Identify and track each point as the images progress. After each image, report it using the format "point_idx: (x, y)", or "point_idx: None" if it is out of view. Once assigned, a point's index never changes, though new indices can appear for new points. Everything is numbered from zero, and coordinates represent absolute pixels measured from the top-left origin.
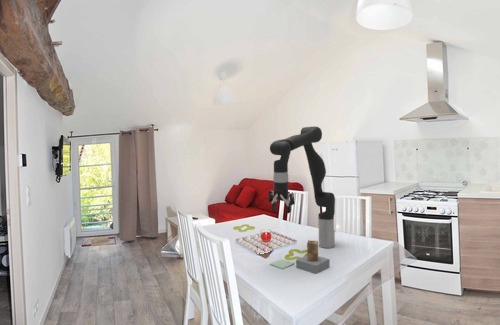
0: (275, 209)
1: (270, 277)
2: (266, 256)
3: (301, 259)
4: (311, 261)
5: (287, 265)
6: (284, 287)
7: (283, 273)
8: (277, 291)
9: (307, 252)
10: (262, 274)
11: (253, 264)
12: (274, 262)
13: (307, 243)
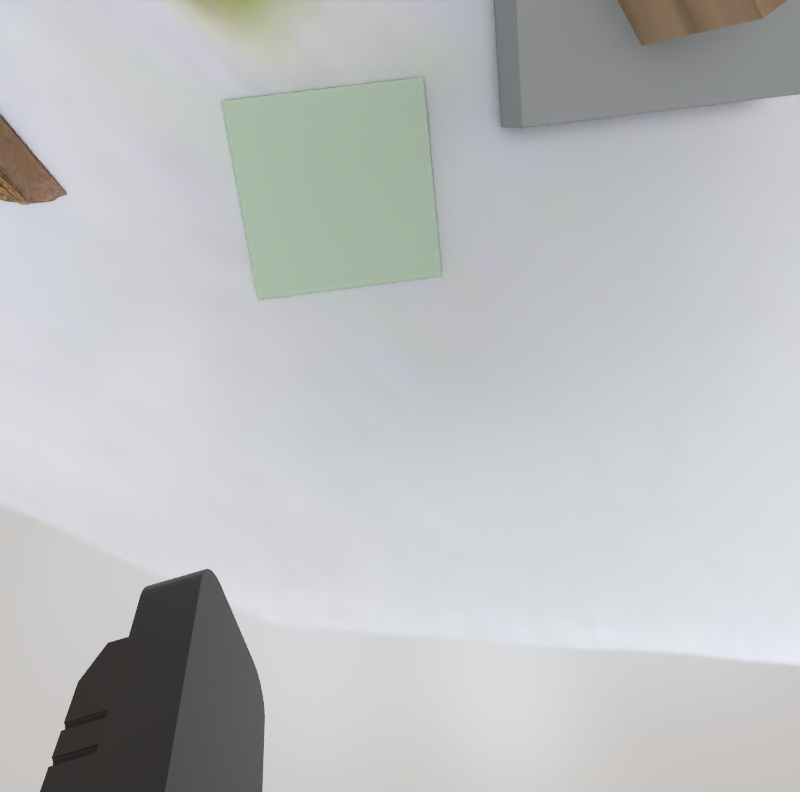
0: (221, 633)
1: (499, 475)
2: (9, 155)
3: (562, 67)
4: None
5: (422, 185)
6: (704, 504)
7: (517, 336)
8: (707, 576)
9: (694, 33)
10: (405, 489)
11: (146, 415)
12: (261, 235)
13: (767, 13)
